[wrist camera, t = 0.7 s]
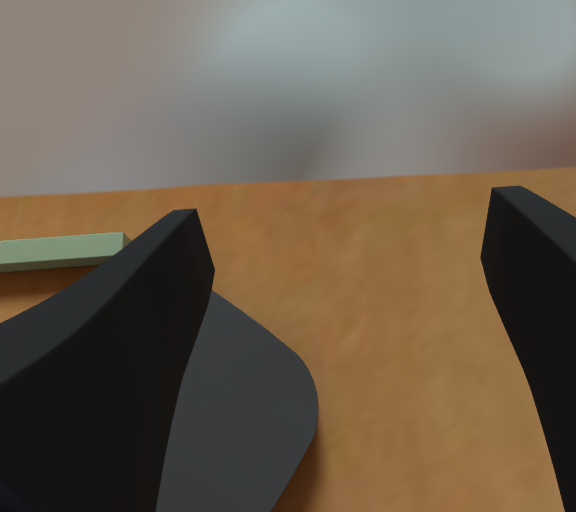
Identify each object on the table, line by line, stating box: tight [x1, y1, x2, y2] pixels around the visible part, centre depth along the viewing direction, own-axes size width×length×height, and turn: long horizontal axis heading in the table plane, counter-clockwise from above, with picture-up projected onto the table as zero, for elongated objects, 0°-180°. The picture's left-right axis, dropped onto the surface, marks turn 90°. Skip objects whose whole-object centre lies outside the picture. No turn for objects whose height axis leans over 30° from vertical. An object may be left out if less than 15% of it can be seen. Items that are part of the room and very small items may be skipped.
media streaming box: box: [156, 290, 318, 512], centre depth 23 cm, size 15×15×3 cm
